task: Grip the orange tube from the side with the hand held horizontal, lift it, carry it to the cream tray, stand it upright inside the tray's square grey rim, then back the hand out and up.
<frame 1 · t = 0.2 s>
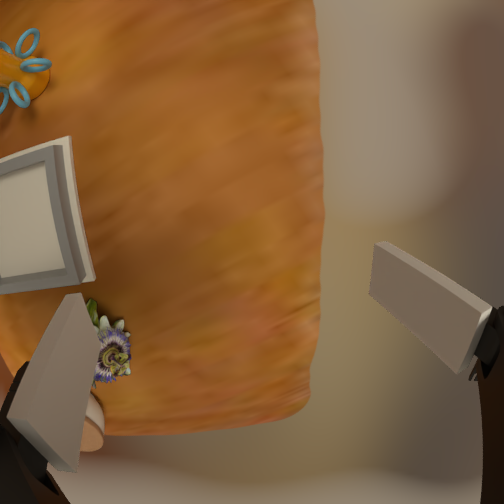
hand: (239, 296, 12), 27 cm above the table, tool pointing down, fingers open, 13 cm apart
passion flower: (101, 330, 40), on the table
holder tray: (24, 221, 32), on the table
orange tube: (34, 81, 26), on the table
lidded bowl: (79, 397, 44), on the table
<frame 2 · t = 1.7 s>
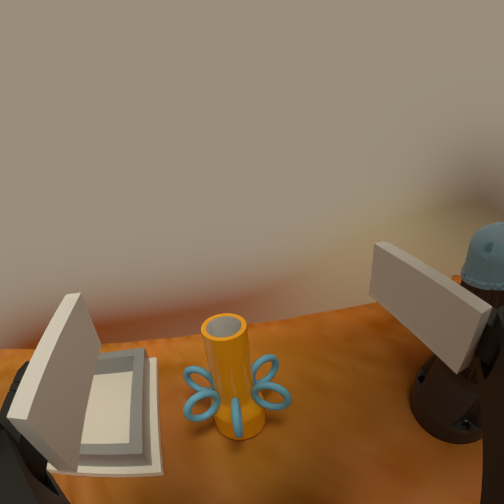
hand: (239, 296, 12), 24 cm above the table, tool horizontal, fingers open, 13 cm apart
holder tray: (91, 415, 30), on the table
orange tube: (241, 422, 31), on the table
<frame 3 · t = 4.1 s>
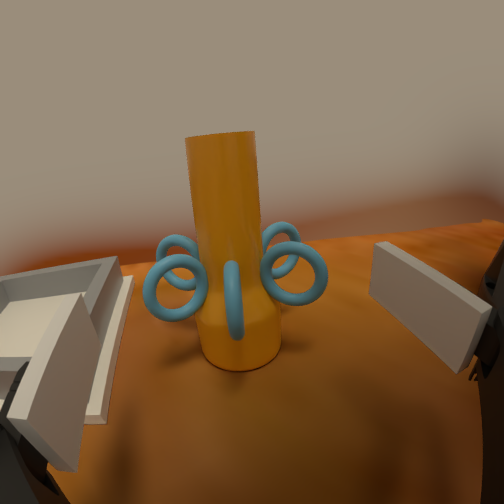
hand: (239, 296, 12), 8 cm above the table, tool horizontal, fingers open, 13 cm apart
holder tray: (34, 341, 21), on the table
orange tube: (242, 348, 22), on the table
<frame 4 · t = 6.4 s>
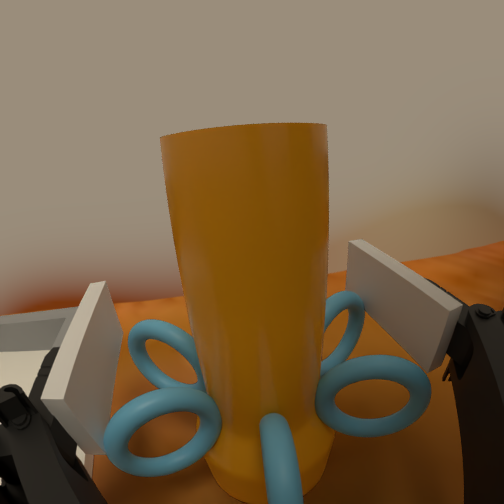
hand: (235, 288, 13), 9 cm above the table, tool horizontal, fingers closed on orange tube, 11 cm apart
orange tube: (269, 462, 12), on the table, touching gripper
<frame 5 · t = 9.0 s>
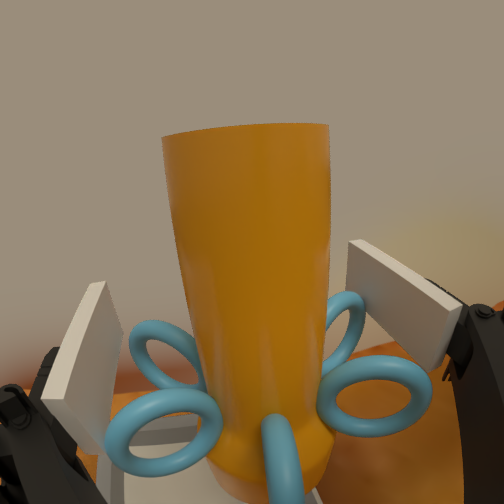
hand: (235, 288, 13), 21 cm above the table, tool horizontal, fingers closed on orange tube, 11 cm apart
orange tube: (270, 462, 12), point 13 cm above the table, touching gripper
when the fingers open (11 cm above the table, at t = 12.0 s): orange tube drops 1 cm, resting on holder tray.
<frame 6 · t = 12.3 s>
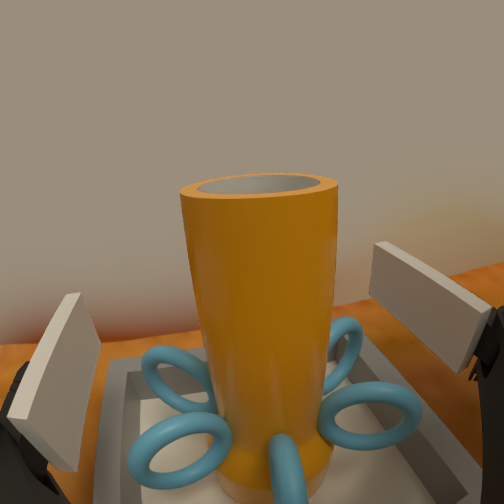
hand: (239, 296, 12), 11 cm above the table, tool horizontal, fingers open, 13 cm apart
holder tray: (270, 477, 13), on the table
orange tube: (272, 471, 13), point 1 cm above the table, touching holder tray
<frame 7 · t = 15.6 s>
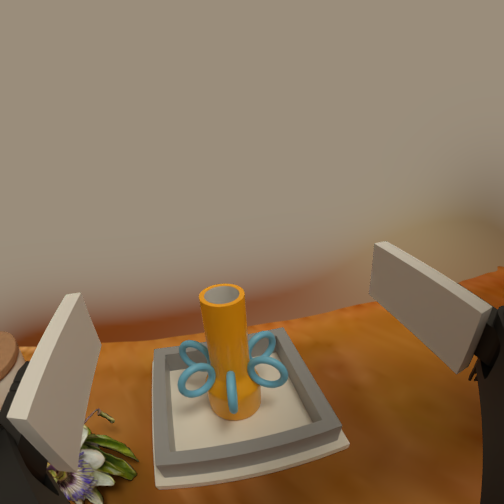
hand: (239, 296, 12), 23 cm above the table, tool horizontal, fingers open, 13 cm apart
passion flower: (89, 474, 21), on the table
holder tray: (235, 407, 31), on the table
orange tube: (236, 403, 31), point 1 cm above the table, touching holder tray
lidded bowl: (12, 403, 27), on the table
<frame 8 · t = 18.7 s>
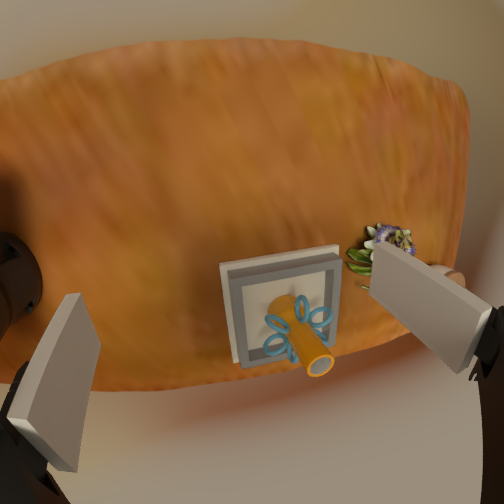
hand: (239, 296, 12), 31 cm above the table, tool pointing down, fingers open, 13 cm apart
passion flower: (372, 247, 51), on the table
holder tray: (282, 305, 50), on the table
orange tube: (283, 308, 50), point 1 cm above the table, touching holder tray
lidded bowl: (420, 281, 58), on the table
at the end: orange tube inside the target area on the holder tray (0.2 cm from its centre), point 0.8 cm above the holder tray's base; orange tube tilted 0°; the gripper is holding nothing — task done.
